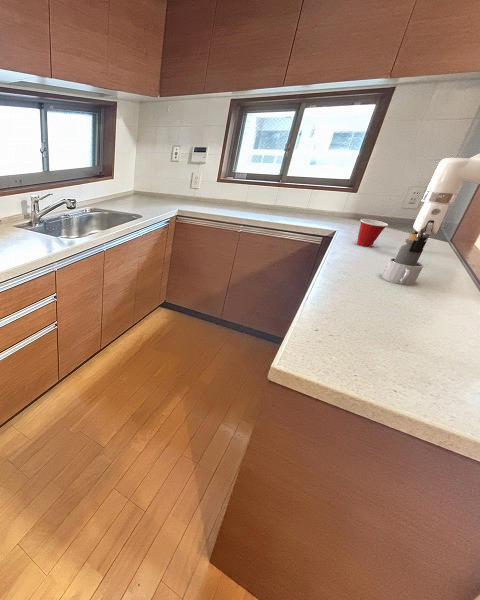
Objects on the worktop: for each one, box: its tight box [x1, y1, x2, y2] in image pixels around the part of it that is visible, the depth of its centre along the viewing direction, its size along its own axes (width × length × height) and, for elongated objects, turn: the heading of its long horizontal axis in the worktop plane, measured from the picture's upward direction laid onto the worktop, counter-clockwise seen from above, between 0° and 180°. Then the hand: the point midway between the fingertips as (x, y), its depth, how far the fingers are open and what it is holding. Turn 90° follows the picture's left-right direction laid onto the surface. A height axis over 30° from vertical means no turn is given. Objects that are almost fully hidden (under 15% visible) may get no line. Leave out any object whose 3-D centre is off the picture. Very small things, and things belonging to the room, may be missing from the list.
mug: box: [381, 257, 424, 286], centre depth 119 cm, size 13×9×7 cm
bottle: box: [394, 233, 424, 266], centre depth 117 cm, size 6×6×15 cm
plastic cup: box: [356, 218, 389, 248], centre depth 160 cm, size 11×11×12 cm
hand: (412, 249), depth 116 cm, fingers closed on bottle, 5 cm apart
